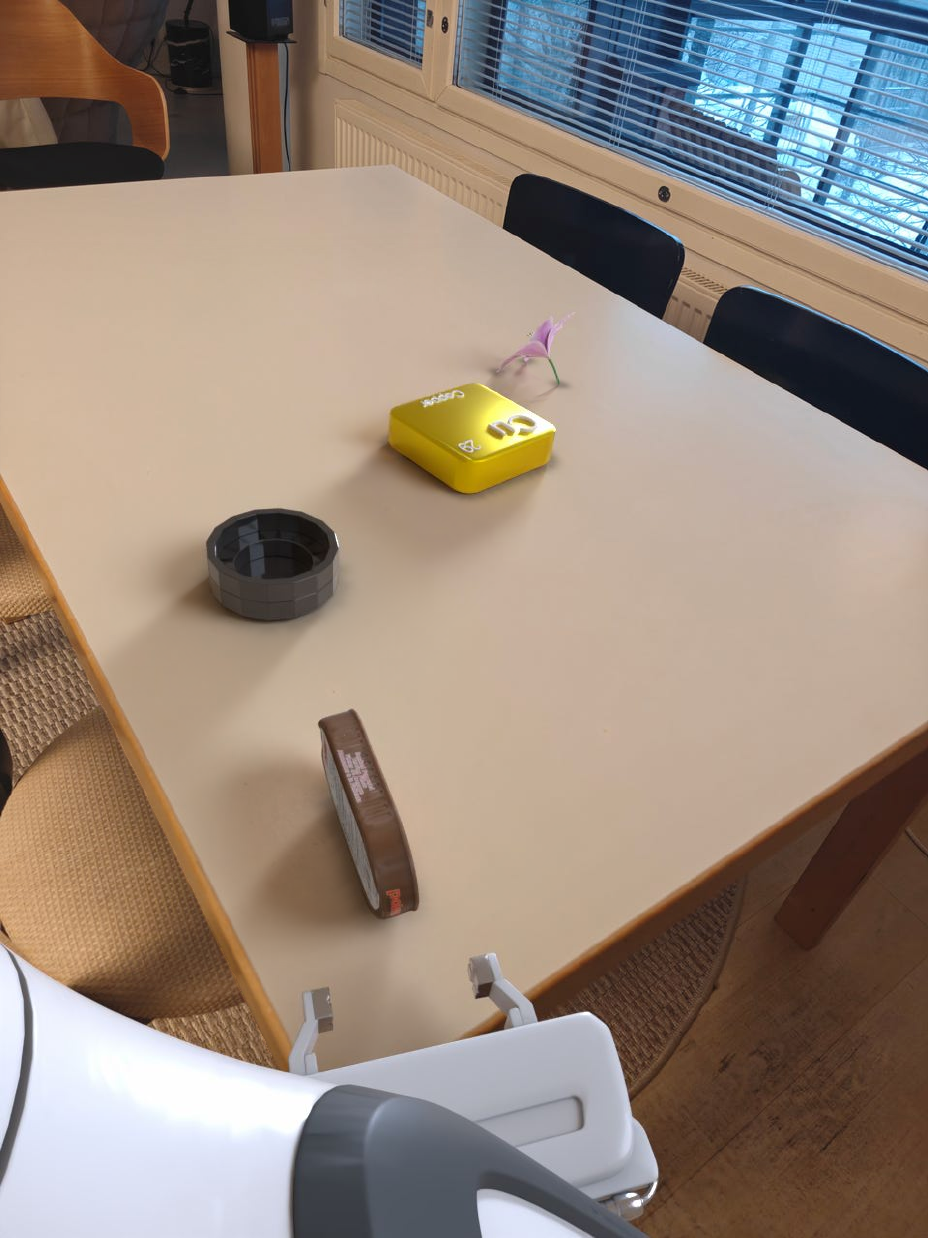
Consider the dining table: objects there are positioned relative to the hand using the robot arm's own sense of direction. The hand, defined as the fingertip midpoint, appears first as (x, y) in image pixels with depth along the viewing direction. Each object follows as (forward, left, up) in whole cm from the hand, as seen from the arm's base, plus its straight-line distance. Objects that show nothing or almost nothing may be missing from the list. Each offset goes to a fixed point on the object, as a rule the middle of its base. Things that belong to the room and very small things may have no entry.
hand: (399, 976), depth 48 cm
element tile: (+22, +64, -5) cm, 68 cm away
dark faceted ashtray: (-3, +42, -5) cm, 42 cm away
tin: (0, +12, -5) cm, 13 cm away
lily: (+37, +84, -5) cm, 92 cm away
